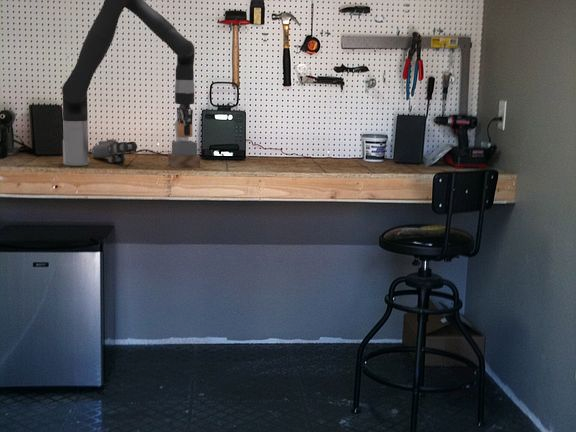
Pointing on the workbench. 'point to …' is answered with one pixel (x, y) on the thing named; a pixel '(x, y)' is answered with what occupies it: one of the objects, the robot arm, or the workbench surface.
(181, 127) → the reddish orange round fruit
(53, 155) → the workbench surface
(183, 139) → the grey figurine
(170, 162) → the tower base
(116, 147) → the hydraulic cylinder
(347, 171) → the workbench surface
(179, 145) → the grey square block
